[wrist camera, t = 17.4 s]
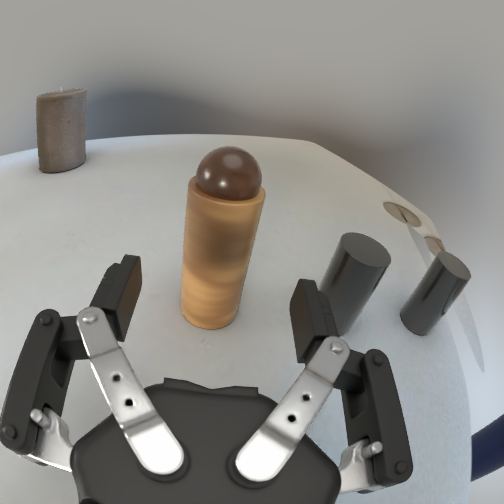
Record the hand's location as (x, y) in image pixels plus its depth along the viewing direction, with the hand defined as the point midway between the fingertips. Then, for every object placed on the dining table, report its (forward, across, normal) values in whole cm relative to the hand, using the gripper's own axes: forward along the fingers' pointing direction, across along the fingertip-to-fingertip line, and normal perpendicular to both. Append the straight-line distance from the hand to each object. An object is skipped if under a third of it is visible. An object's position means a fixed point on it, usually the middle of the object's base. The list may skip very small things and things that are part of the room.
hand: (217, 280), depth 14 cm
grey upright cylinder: (+6, -11, +8) cm, 15 cm away
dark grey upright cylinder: (+6, -22, +8) cm, 24 cm away
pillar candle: (+34, +31, +9) cm, 47 cm away
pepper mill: (+6, 0, +8) cm, 10 cm away
